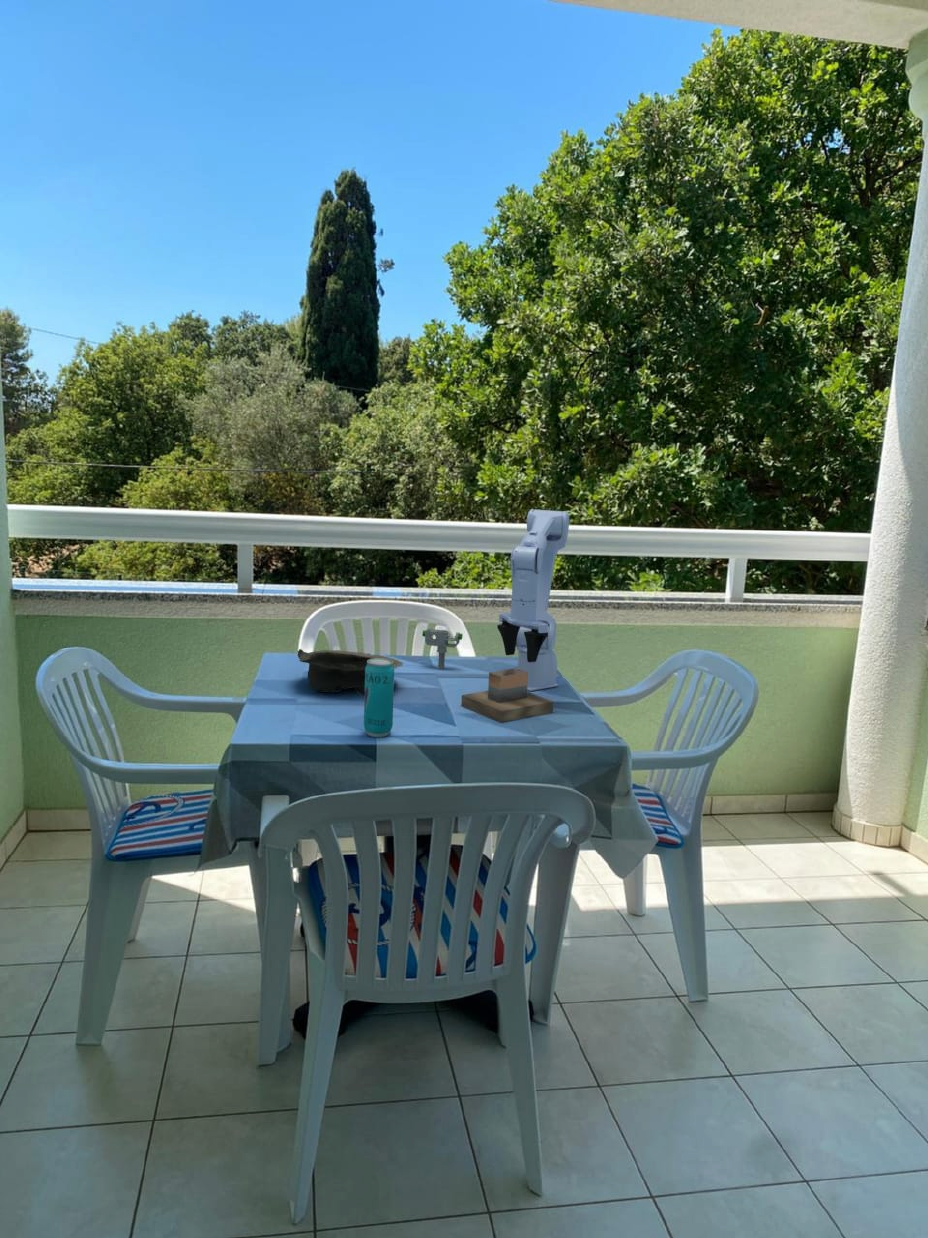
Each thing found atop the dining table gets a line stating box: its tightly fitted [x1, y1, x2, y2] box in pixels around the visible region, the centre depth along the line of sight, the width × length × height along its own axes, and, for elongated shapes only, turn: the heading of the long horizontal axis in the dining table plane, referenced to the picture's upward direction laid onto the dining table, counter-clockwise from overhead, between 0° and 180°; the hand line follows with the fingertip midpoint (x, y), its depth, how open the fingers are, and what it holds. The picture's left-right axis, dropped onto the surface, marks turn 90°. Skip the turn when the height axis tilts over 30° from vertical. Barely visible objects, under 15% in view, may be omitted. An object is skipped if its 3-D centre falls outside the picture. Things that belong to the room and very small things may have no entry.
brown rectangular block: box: [487, 667, 528, 703], centre depth 202 cm, size 8×4×6 cm, turn 128°
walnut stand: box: [461, 690, 554, 723], centre depth 203 cm, size 15×14×2 cm
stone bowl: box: [297, 648, 404, 695], centre depth 215 cm, size 25×25×9 cm
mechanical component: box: [421, 628, 463, 670], centre depth 235 cm, size 3×10×10 cm, turn 78°
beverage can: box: [363, 658, 395, 738], centre depth 181 cm, size 6×6×15 cm
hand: (520, 658), depth 207 cm, fingers open, 7 cm apart
